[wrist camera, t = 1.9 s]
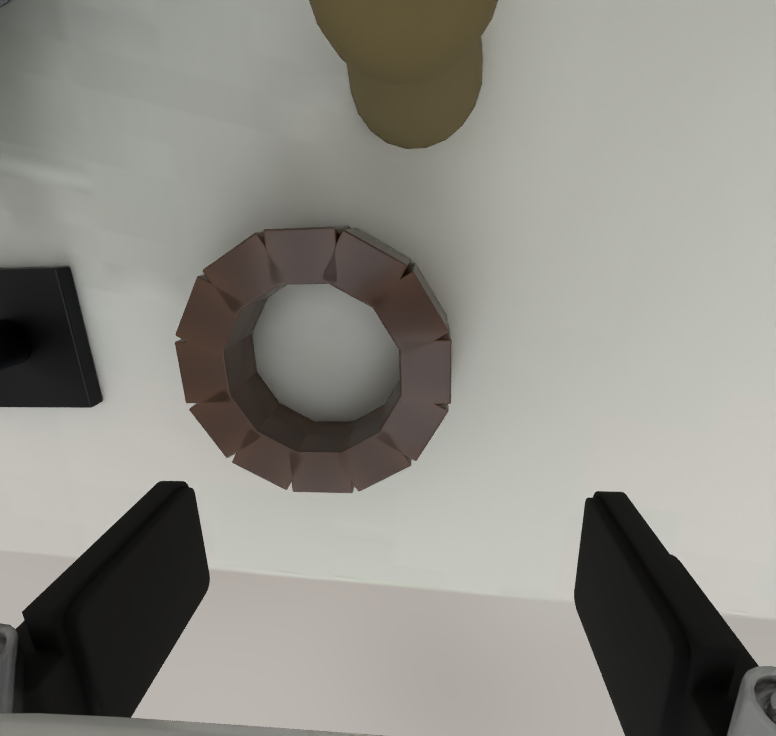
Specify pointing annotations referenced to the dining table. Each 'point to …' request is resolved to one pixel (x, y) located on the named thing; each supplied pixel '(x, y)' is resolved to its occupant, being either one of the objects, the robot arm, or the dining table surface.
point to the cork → (409, 62)
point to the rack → (43, 341)
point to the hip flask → (3, 2)
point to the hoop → (256, 402)
